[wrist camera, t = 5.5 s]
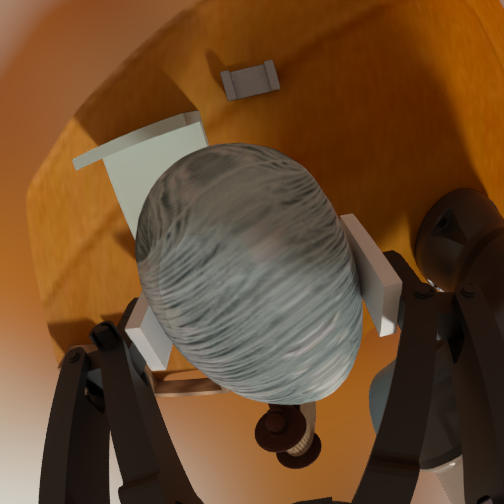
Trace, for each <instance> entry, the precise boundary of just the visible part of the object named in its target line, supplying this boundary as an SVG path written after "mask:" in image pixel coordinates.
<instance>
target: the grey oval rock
mask: <svg viewBox="0 0 504 504" xmlns="http://www.w3.org/2000/svg"><path fill="white" fill-rule="evenodd" d="M135 254H136V261H137V267H138V272H139V277H140V282H141V286H142V289H143V292H144V295H145V297H146V300H147V302H148V303H149V305H150V307H151V309H152V311H153V313H154V315H155V317H156V319H157V320H158V322H159V324H160V326H161V327H162V329H163V331H164V332H165V334H166V335H167V337H168V338H169V339H170V340H171V341H172V343H173V344H174V345H175V346H176V348H177V349H178V350H179V351H180V353H181V354H182V355H183V356H184V357H185V358H186V359H187V360H188V361H189V362H190V363H191V364H192V365H194V366H195V367H196V368H197V369H199V370H200V371H201V372H202V373H204V374H205V375H206V376H208V378H210V379H211V380H212V381H214V382H215V383H217V384H219V385H221V386H223V387H225V388H227V389H229V390H231V391H233V392H234V393H236V394H238V395H241V396H243V397H245V398H249V399H252V400H255V401H259V402H264V403H271V404H285V405H292V404H303V403H308V402H312V401H316V400H320V399H322V398H324V397H326V396H328V395H330V394H331V393H333V392H334V391H335V390H336V389H337V388H338V387H339V386H340V385H341V384H342V382H343V381H344V380H345V379H346V378H347V377H348V374H349V372H350V370H351V369H352V367H353V364H354V362H355V358H356V355H357V353H358V350H359V347H360V342H361V337H362V320H363V309H362V295H361V288H360V281H359V276H358V273H357V269H356V265H355V261H354V258H353V254H352V251H351V248H350V245H349V242H348V240H347V237H346V234H345V232H344V229H343V226H342V224H341V222H340V220H339V218H338V216H337V214H336V212H335V210H334V208H333V206H332V204H331V202H330V201H329V199H328V198H327V196H326V195H325V193H324V192H323V190H322V189H321V187H320V186H319V184H318V183H317V181H316V180H315V179H314V177H313V176H312V175H311V174H310V173H309V171H308V170H307V169H306V168H304V167H303V166H302V165H300V164H299V163H297V162H296V161H294V160H293V159H291V158H290V157H288V156H286V155H285V154H283V153H281V152H280V151H278V150H275V149H272V148H269V147H265V146H259V145H253V144H246V143H231V144H217V145H212V146H208V147H204V148H202V149H199V150H197V151H194V152H192V153H190V154H188V155H186V156H184V157H183V158H181V159H180V160H178V161H177V162H175V163H174V164H173V165H171V166H170V167H169V168H168V169H167V170H166V171H165V172H164V173H163V174H162V175H161V176H160V177H159V178H158V179H157V181H156V182H155V184H154V185H153V187H152V188H151V189H150V191H149V193H148V195H147V197H146V199H145V201H144V204H143V207H142V210H141V212H140V215H139V218H138V224H137V231H136V239H135Z"/></svg>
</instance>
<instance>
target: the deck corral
mask: <svg viewBox="0 0 504 504" xmlns="http://www.w3.org/2000/svg"><path fill="white" fill-rule="evenodd" d="M144 370H145V371H146V373H147V374H148V377H149V380H150V383H151V386H152V389H153V392H154V395H155V397H170V396H193V395H207V394H220V393H230V390H229V389H227V388H225V387H223V386H221V385H219V384H217V383H215V382H214V381H212V380H211V379H210V378H203V379H202V378H201V379H189V380H175V381H158V380H157V379H156V378H155V376H154V375H153V373H152V372H151V371H150V369H149V368H148V367H147V365H146V366H145V369H144Z"/></svg>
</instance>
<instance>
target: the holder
mask: <svg viewBox="0 0 504 504" xmlns="http://www.w3.org/2000/svg"><path fill="white" fill-rule="evenodd" d="M208 146H209V143H208V140H207V137H206V133H205V130H204V127H203V123H202V120H201V116H200V113H199V110H198V111H192V112H186V113H181V114H178V115H175V116H172V117H170V118H167V119H164V120H161V121H159V122H156V123H153V124H151V125H148V126H145V127H143V128H140V129H138V130H135V131H133V132H131V133H128V134H126V135H123V136H121V137H119V138H116V139H114V140H112V141H110V142H107V143H105V144H103V145H101V146H99V147H97V148H94V149H92V150H90V151H88V152H86V153H84V154H82V155H80V156H78V157H76V158H74V159H72V161H73V164H74V167H75V169H76V170H78V169H80V168H83V167H85V166H87V165H89V164H91V163H93V162H95V161H98V160H100V159H102V158H103V161H104V164H105V167H106V169H107V172H108V175H109V178H110V180H111V183H112V186H113V188H114V191H115V193H116V196H117V199H118V201H119V204H120V206H121V209H122V211H123V213H124V216H125V218H126V221H127V223H128V225H129V228H130V230H131V232H132V235H133V237H134V239H136V231H137V224H138V218H139V215H140V212H141V210H142V207H143V204H144V201H145V199H146V197H147V195H148V193H149V191H150V189H151V188H152V187H153V185H154V184H155V182H156V181H157V179H158V178H159V177H160V176H161V175H162V174H163V173H164V172H165V171H166V170H167V169H168V168H169V167H170V166H171V165H173V164H174V163H175V162H177V161H178V160H180V159H181V158H183V157H184V156H186V155H188V154H190V153H192V152H194V151H197V150H199V149H202V148H204V147H208Z"/></svg>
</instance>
